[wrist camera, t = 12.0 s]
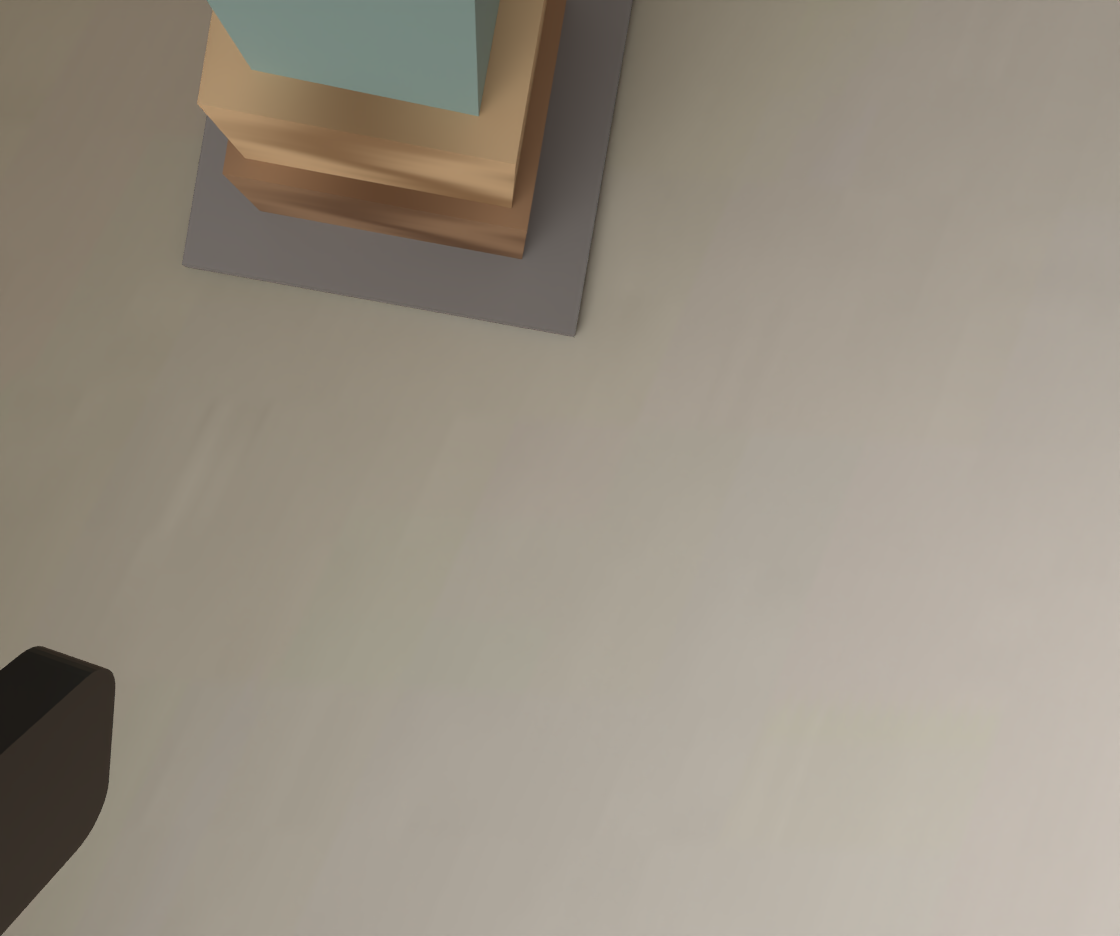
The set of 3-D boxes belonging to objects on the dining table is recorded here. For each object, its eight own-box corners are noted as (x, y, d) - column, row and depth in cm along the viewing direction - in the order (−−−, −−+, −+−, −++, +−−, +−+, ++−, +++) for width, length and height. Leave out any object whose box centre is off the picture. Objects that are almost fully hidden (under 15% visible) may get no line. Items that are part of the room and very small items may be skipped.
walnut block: (566, 0, 32) (578, -71, 28) (521, 259, 33) (527, 230, 28) (304, -54, 32) (273, -134, 27) (259, 210, 32) (222, 173, 27)
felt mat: (639, -46, 33) (641, -52, 32) (573, 336, 33) (574, 335, 33) (251, -127, 32) (248, -134, 32) (185, 266, 32) (181, 264, 32)
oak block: (556, -55, 28) (569, -151, 23) (511, 208, 28) (515, 164, 24) (289, -111, 27) (250, -219, 23) (244, 158, 28) (197, 103, 23)
